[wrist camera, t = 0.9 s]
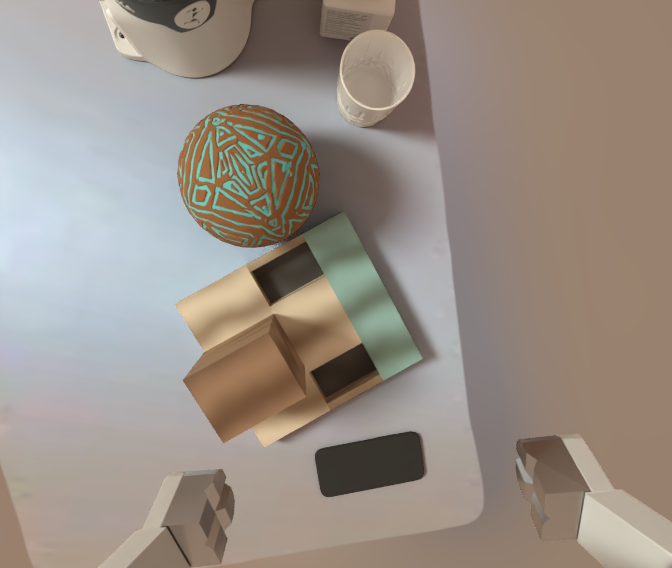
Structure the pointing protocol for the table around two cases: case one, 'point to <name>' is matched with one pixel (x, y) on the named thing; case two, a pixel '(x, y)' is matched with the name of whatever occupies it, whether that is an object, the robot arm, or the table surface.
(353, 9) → the container
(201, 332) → the board
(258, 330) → the walnut block
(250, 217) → the decorative sphere
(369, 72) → the white cup
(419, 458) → the phone
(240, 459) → the table surface
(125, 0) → the robot arm
